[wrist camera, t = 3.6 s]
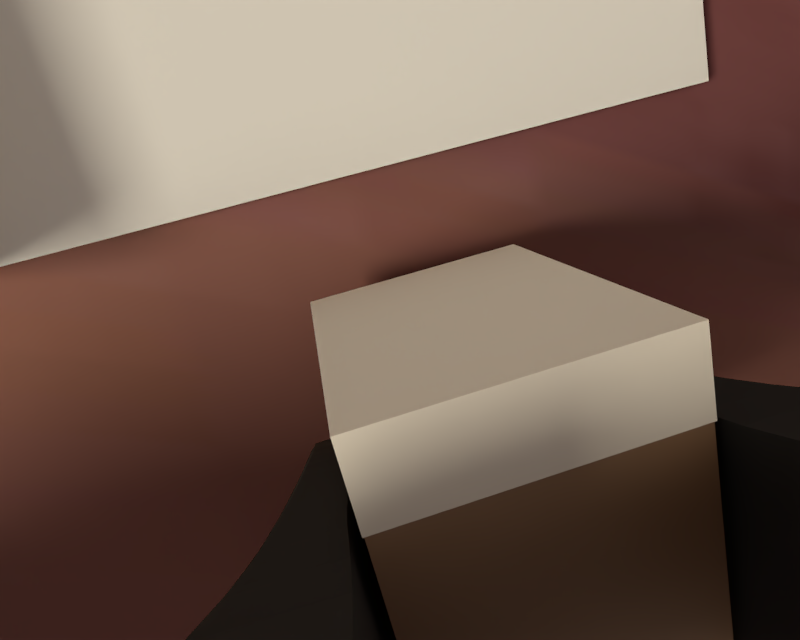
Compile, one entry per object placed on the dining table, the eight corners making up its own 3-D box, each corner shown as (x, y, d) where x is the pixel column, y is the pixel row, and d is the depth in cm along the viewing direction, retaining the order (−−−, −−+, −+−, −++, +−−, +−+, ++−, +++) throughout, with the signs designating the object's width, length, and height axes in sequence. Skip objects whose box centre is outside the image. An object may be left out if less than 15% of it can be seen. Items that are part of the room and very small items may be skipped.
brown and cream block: (561, 504, 13) (744, 735, 8) (388, 562, 13) (460, 847, 7) (513, 244, 11) (708, 320, 6) (310, 301, 11) (330, 436, 6)
